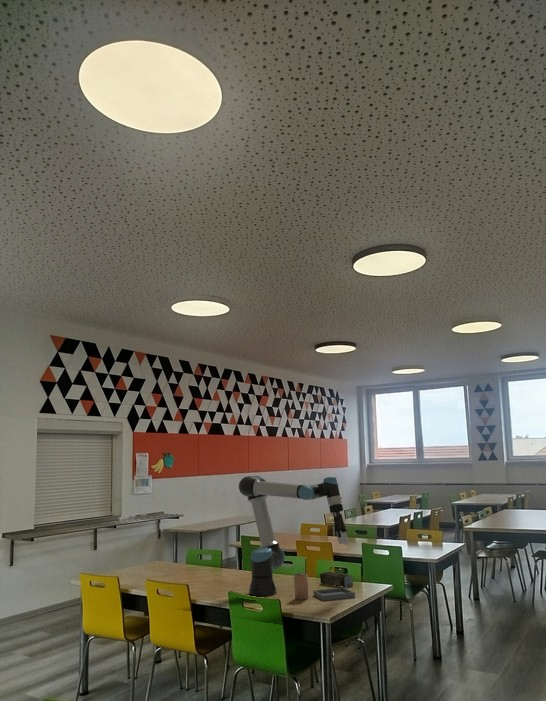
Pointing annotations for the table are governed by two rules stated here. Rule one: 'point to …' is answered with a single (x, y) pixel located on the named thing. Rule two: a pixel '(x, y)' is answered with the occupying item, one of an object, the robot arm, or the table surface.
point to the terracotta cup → (301, 586)
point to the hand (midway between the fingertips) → (343, 544)
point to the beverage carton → (336, 579)
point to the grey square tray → (333, 593)
